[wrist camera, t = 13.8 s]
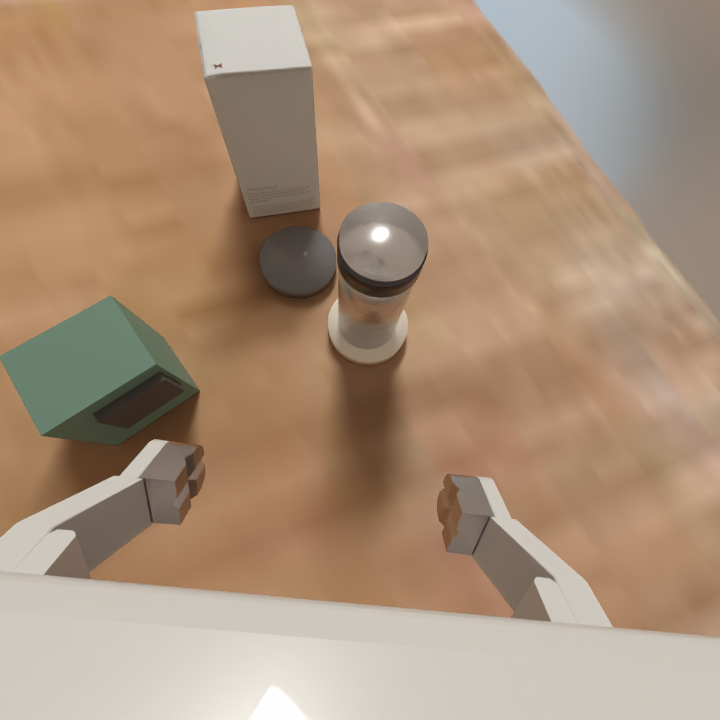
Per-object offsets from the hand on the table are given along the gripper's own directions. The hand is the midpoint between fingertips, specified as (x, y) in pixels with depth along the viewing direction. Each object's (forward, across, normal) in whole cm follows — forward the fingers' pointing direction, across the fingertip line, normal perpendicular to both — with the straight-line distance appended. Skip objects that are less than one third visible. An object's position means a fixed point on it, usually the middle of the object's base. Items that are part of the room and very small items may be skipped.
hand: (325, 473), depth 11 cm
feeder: (+15, +16, +8) cm, 23 cm away
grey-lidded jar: (+19, -2, +1) cm, 19 cm away
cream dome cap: (+20, -2, +2) cm, 20 cm away
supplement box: (+31, +9, -8) cm, 33 cm away
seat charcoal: (+24, +5, -2) cm, 25 cm away
